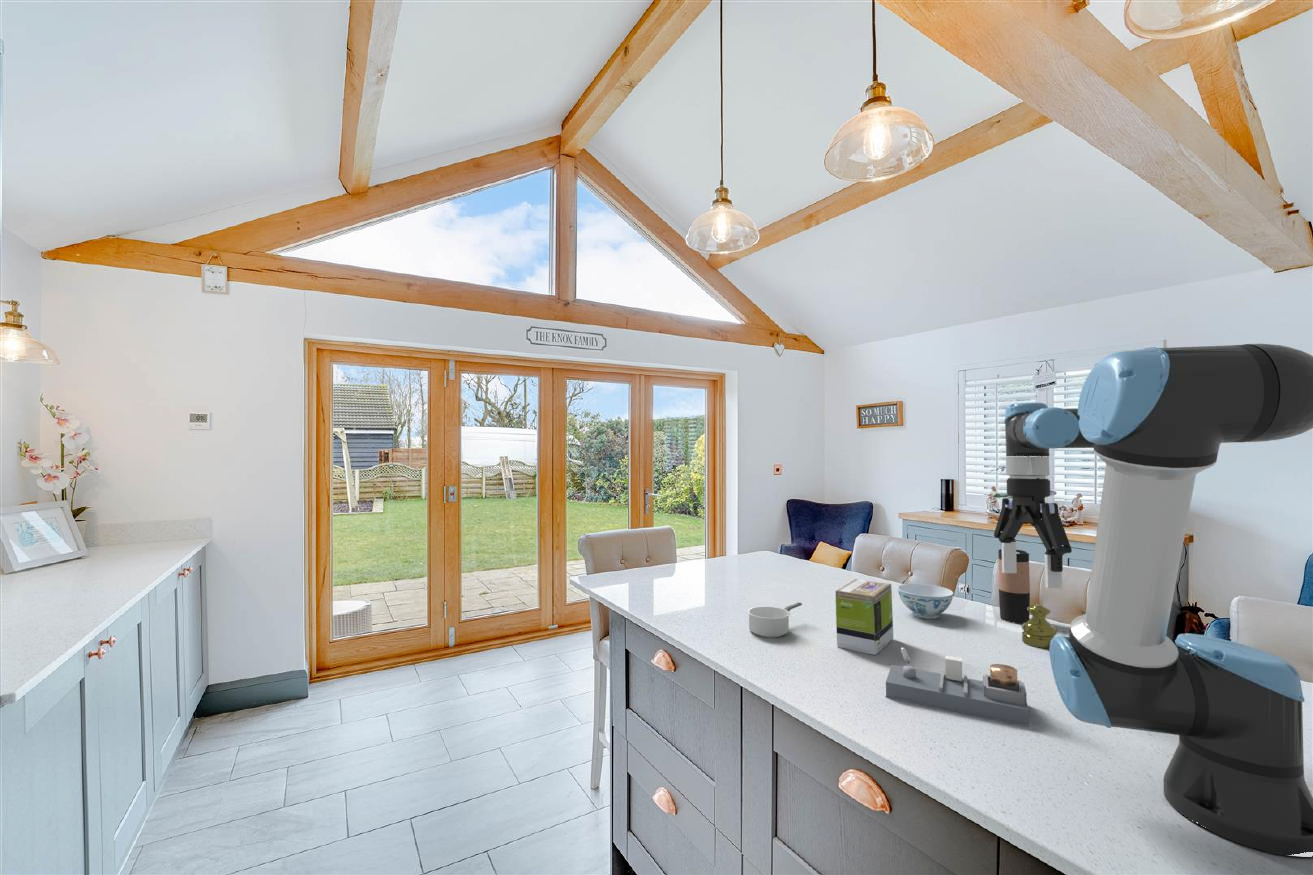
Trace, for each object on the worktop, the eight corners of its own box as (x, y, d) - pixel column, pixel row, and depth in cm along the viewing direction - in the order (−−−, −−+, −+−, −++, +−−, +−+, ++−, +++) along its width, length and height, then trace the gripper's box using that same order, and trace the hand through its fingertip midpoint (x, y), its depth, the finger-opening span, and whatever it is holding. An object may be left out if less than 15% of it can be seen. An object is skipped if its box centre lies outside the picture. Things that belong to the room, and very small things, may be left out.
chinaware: (887, 610, 168) (886, 585, 168) (926, 606, 172) (925, 581, 172) (924, 625, 153) (924, 598, 154) (965, 620, 158) (965, 594, 158)
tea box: (856, 631, 149) (855, 577, 149) (894, 639, 143) (893, 583, 143) (835, 647, 138) (834, 588, 138) (876, 656, 131) (875, 595, 131)
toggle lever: (910, 663, 112) (904, 648, 112) (905, 663, 112) (899, 648, 113) (910, 661, 113) (905, 646, 113) (905, 662, 113) (900, 647, 114)
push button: (1018, 688, 101) (1018, 674, 101) (990, 683, 103) (990, 670, 103) (1016, 679, 105) (1016, 666, 105) (989, 674, 107) (989, 662, 107)
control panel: (1028, 726, 98) (1028, 698, 98) (886, 696, 110) (885, 671, 110) (1023, 703, 107) (1023, 678, 107) (891, 678, 119) (891, 655, 119)
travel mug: (993, 617, 160) (992, 550, 161) (1009, 614, 164) (1008, 548, 164) (1019, 625, 153) (1018, 554, 154) (1036, 621, 157) (1035, 552, 157)
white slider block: (962, 681, 109) (961, 661, 109) (945, 678, 111) (945, 658, 111) (962, 677, 111) (962, 658, 111) (945, 674, 113) (945, 655, 113)
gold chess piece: (1057, 651, 134) (1056, 610, 134) (1020, 644, 138) (1020, 605, 139) (1057, 642, 140) (1056, 603, 140) (1022, 636, 144) (1022, 599, 144)
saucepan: (817, 626, 153) (817, 607, 154) (771, 642, 141) (771, 621, 141) (784, 617, 162) (784, 598, 163) (739, 631, 150) (738, 611, 150)
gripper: (1093, 479, 101) (1096, 595, 100) (1008, 475, 125) (1010, 567, 125) (1052, 479, 101) (1055, 595, 100) (975, 475, 126) (977, 567, 125)
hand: (1030, 580), depth 112 cm, fingers open, 13 cm apart
